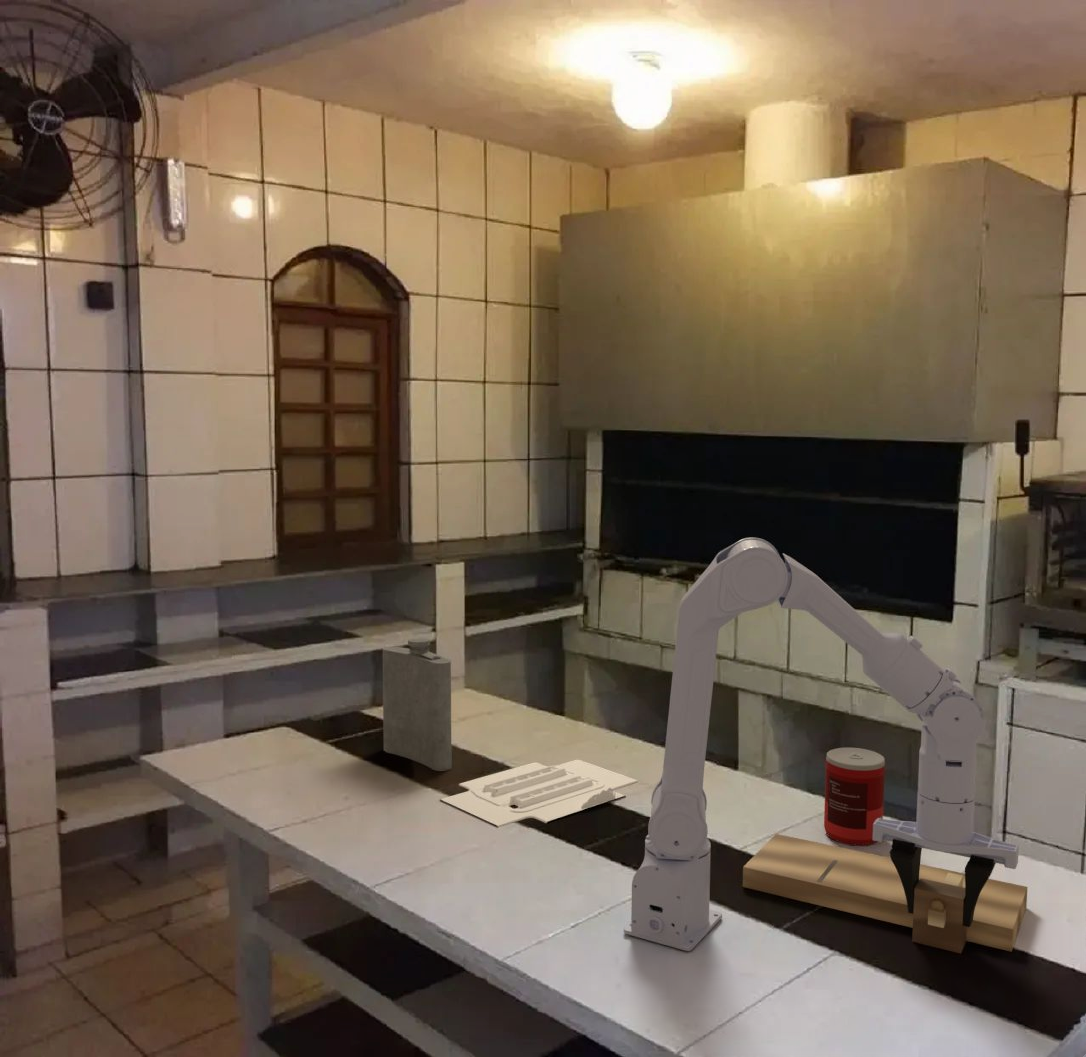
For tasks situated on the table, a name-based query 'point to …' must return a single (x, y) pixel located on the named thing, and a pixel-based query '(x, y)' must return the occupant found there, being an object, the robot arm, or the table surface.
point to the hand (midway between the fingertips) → (940, 916)
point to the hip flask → (417, 704)
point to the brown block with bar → (940, 913)
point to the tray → (539, 792)
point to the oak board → (873, 887)
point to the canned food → (853, 794)
